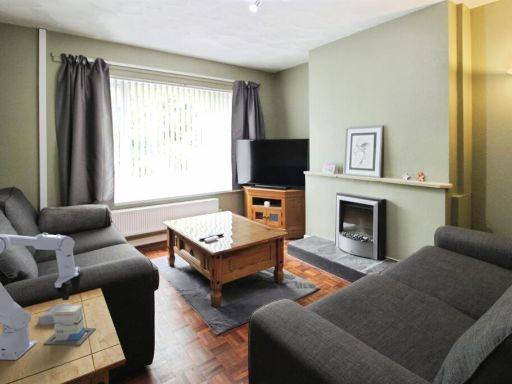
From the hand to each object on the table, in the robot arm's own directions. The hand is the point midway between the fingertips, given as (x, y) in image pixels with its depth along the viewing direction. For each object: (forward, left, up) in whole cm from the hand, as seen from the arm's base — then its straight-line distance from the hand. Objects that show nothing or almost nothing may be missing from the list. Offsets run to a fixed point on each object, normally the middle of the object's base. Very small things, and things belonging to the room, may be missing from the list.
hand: (71, 294), depth 125 cm
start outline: (-11, -6, -11) cm, 17 cm away
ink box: (-11, -6, -12) cm, 17 cm away
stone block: (+2, +9, -12) cm, 15 cm away
